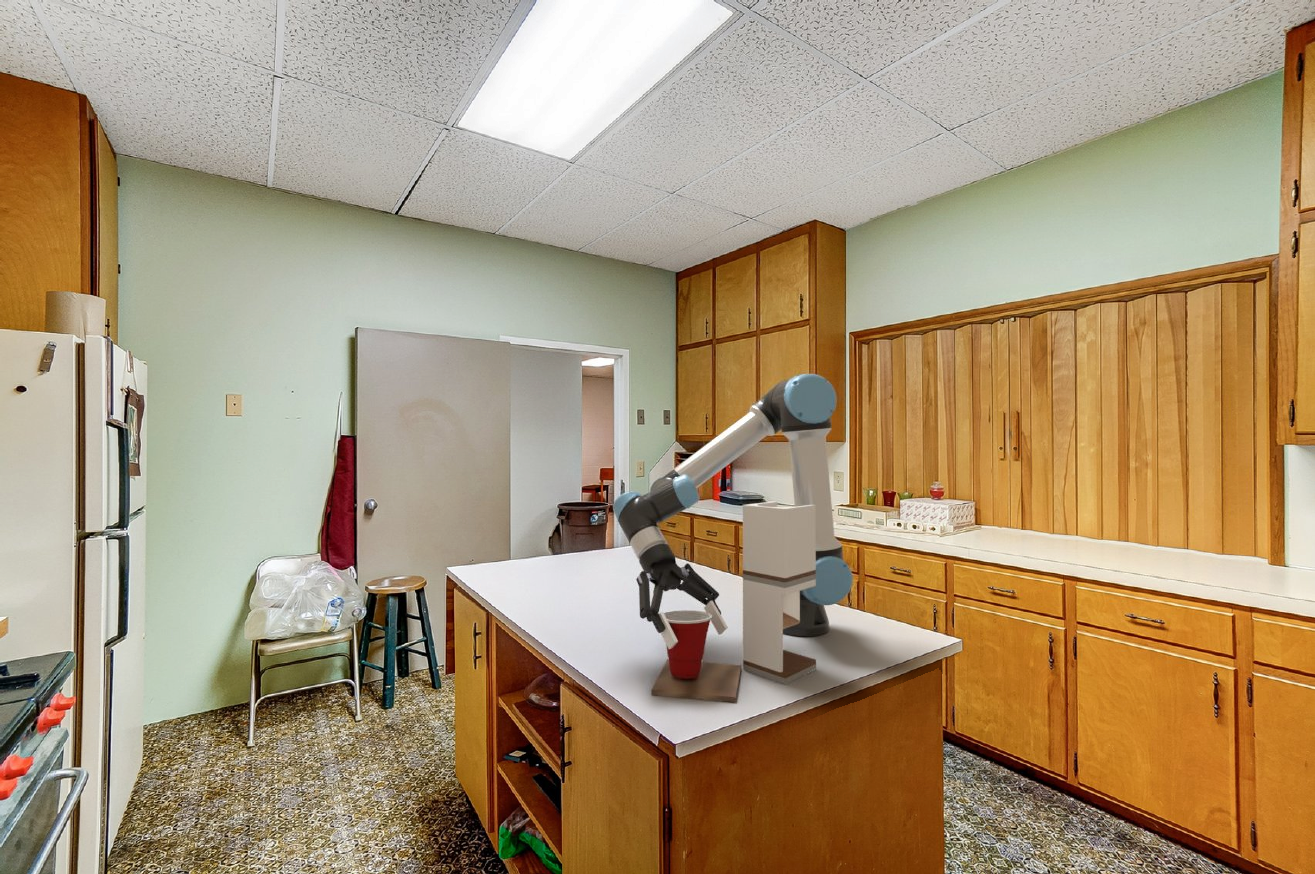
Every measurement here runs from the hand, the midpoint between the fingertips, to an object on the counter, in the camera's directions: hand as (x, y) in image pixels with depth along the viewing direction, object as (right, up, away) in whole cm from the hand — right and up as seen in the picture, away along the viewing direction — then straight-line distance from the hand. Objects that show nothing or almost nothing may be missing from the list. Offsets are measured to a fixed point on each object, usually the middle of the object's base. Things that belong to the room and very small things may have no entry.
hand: (699, 638), depth 116 cm
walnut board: (0, -9, 0) cm, 9 cm away
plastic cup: (-3, -8, 0) cm, 8 cm away
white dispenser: (+18, -9, +7) cm, 21 cm away
